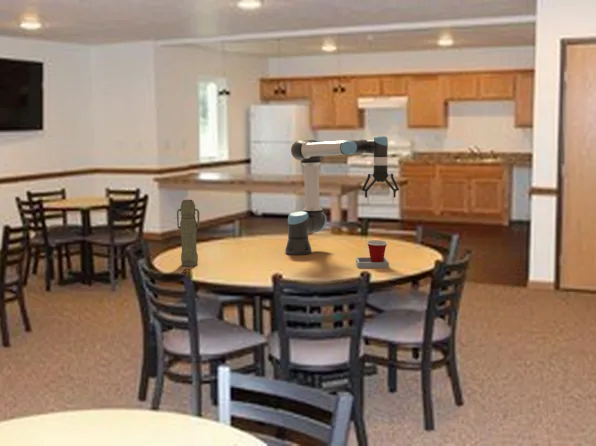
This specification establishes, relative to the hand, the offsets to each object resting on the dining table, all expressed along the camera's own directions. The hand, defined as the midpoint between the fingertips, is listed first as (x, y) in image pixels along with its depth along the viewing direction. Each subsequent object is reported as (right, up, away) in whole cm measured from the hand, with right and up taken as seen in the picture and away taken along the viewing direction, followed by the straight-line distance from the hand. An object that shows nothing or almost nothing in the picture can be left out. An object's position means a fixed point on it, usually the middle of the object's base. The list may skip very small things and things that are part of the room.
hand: (380, 203), depth 439 cm
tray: (-6, -33, -17) cm, 37 cm away
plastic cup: (-4, -32, -19) cm, 38 cm away
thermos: (-103, -33, -10) cm, 109 cm away
